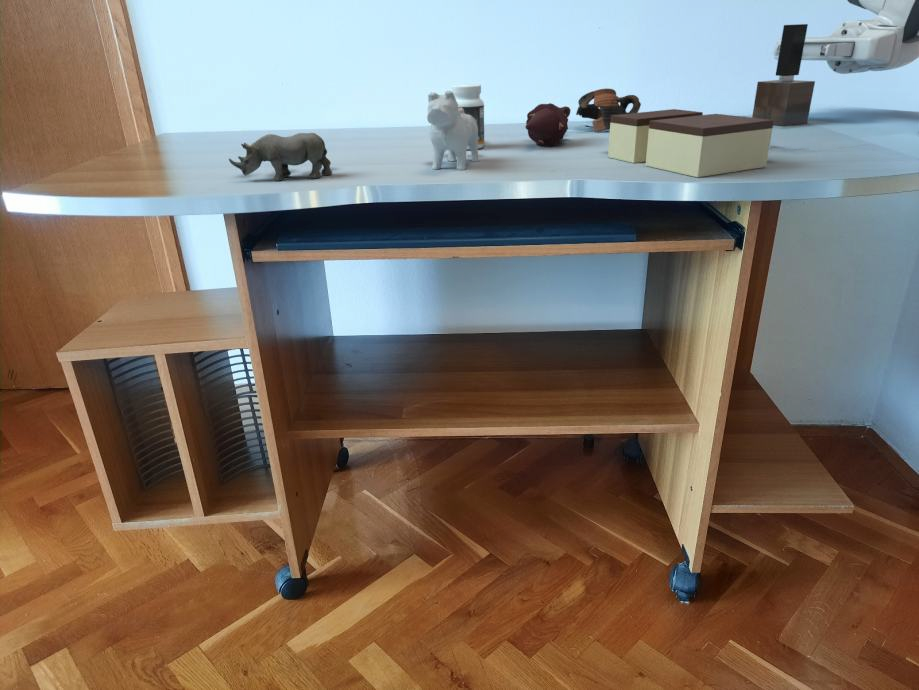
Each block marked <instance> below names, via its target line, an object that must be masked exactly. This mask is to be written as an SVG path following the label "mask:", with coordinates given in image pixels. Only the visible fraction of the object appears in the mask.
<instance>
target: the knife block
mask: <svg viewBox="0 0 919 690" xmlns="http://www.w3.org/2000/svg"><path fill="white" fill-rule="evenodd" d="M815 84H816V81H815V80H797V79H796V80H795V79H794V80H793V81H790V82H779V79H772V80H763V81H761V80H760V81H757V84H756V91H755V97H754V103H753V109H752V116H751V118H759V119H768V120H774V123H773V127H783V128H784V127H792V126H801V125H807V124H808V120H809V115H810V110H811V105H812V100H813V99H812V98H813V94H814V89H815Z"/></svg>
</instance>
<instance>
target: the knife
mask: <svg viewBox="0 0 919 690" xmlns="http://www.w3.org/2000/svg"><path fill="white" fill-rule="evenodd" d="M808 27H809V24H808V23H803V24H802V23H801V24H799V23H798V24H784V25H783V28H782V34H781V38H780V39H781V45H780V51H779V57H778V60H777V64H776V70H775V76H777V77H779V78H778V80H779V82H790V81H793V80H795V76H799V75H800V71H801V66H802V65H801V64H802V60H801V59H802V54H803V48H804V43H805V38H807V31H808Z"/></svg>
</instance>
